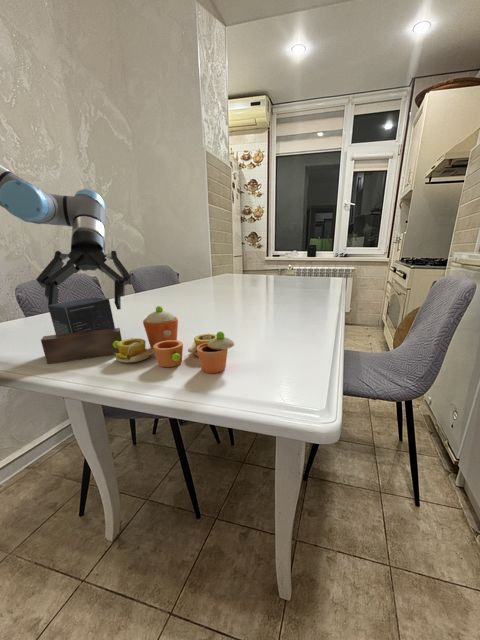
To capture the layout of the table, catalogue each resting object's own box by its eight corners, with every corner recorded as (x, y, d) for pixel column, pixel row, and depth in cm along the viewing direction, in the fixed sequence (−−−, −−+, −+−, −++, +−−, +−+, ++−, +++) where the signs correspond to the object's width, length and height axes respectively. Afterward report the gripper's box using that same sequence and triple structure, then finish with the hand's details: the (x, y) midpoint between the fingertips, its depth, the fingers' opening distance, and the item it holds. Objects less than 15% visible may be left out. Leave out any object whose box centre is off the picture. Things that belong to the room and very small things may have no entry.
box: (100, 337, 74) (92, 296, 70) (118, 341, 71) (111, 298, 68) (58, 350, 65) (46, 304, 61) (76, 355, 62) (65, 307, 59)
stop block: (47, 364, 58) (40, 340, 56) (49, 358, 60) (43, 336, 59) (124, 353, 64) (120, 331, 62) (123, 348, 66) (119, 327, 65)
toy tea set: (103, 363, 58) (94, 316, 55) (152, 340, 72) (147, 301, 69) (221, 380, 51) (219, 327, 48) (251, 351, 65) (250, 308, 62)
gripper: (141, 250, 83) (145, 313, 74) (40, 250, 76) (31, 320, 68) (137, 229, 76) (140, 295, 68) (25, 227, 69) (13, 301, 61)
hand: (85, 308), depth 68 cm, fingers open, 13 cm apart
